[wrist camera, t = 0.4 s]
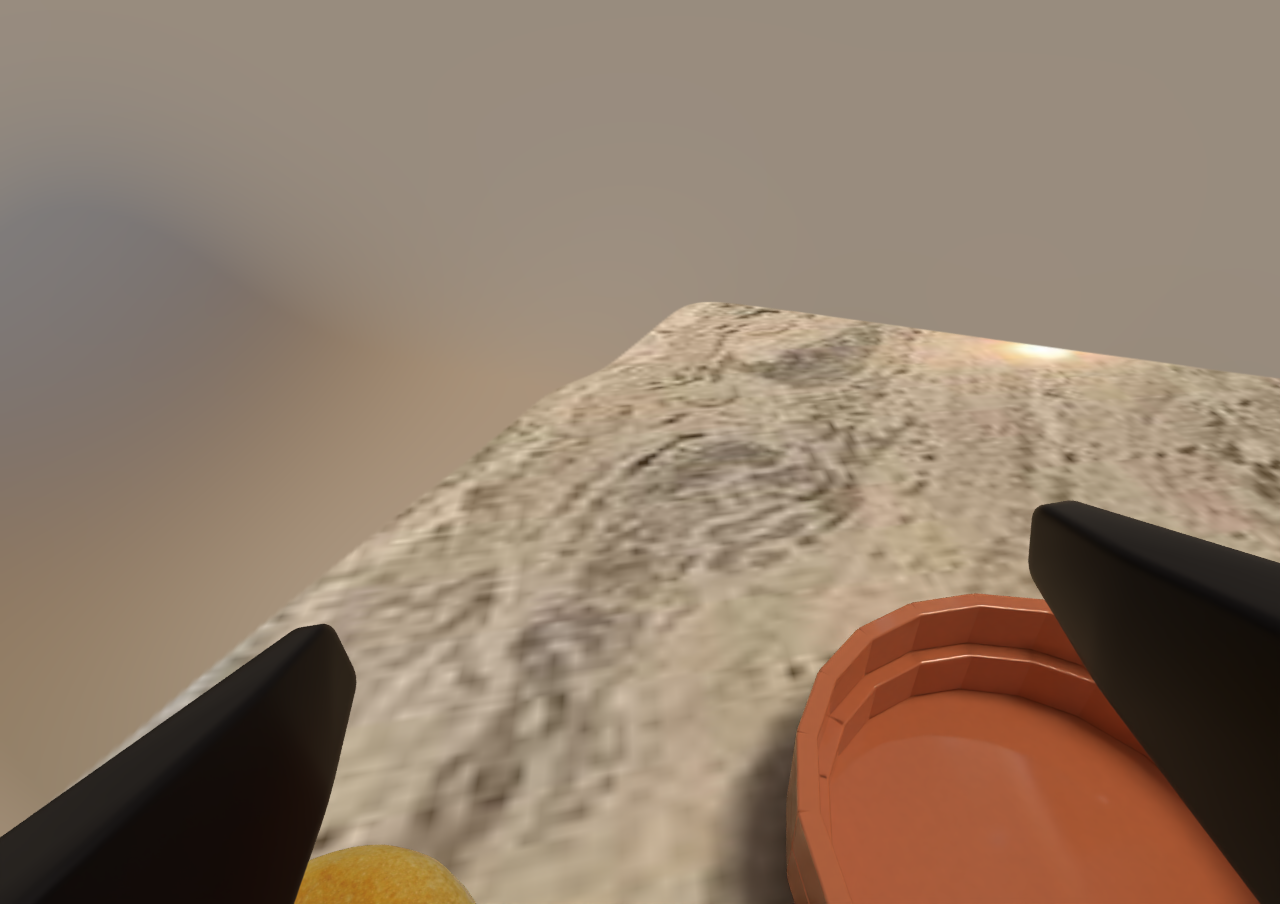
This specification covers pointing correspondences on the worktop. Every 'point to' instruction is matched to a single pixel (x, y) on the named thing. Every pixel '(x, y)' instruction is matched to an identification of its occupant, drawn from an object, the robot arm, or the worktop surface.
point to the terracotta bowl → (982, 774)
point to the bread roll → (379, 878)
